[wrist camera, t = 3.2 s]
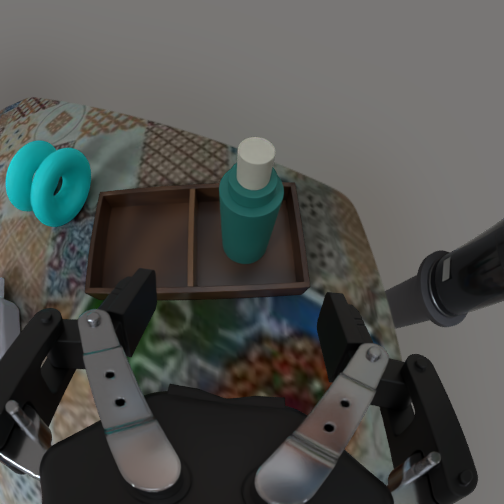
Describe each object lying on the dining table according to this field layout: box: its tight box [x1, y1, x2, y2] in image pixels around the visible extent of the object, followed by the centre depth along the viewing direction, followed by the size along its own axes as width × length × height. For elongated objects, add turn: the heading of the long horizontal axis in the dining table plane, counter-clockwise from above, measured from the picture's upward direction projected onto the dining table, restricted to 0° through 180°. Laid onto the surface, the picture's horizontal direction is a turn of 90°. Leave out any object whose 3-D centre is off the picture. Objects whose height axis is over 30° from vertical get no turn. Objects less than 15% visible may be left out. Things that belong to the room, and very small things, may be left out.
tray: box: [85, 182, 310, 300], centre depth 30 cm, size 23×12×4 cm, turn 94°
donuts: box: [6, 141, 91, 227], centre depth 28 cm, size 10×10×10 cm
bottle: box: [219, 137, 284, 264], centre depth 24 cm, size 5×5×16 cm
